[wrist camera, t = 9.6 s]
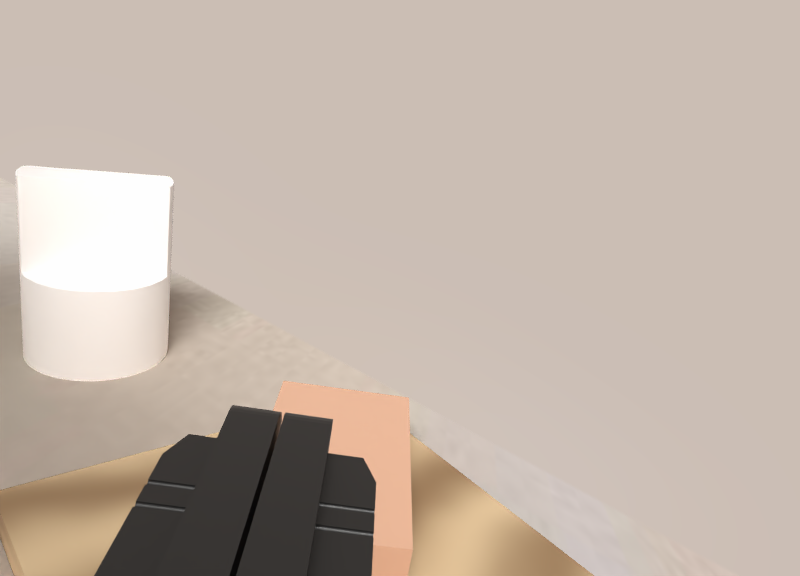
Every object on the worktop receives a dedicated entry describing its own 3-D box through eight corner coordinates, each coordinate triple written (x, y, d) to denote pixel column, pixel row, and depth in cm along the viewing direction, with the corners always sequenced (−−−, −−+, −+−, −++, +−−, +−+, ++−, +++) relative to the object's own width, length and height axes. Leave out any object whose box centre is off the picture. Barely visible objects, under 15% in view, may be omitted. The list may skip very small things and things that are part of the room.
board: (-6, 522, 29) (-8, 492, 29) (356, 416, 42) (359, 394, 42) (147, 937, 17) (148, 897, 17) (593, 609, 30) (602, 581, 29)
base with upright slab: (165, 322, 51) (171, 167, 47) (170, 379, 43) (177, 199, 39) (32, 322, 48) (26, 155, 44) (11, 383, 40) (1, 187, 36)
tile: (412, 549, 26) (408, 397, 37) (231, 527, 25) (283, 380, 37) (403, 601, 27) (401, 436, 38) (227, 580, 26) (279, 420, 38)
